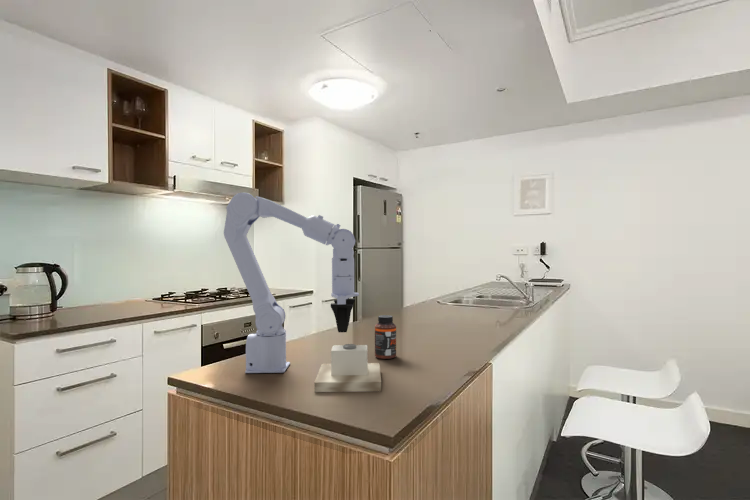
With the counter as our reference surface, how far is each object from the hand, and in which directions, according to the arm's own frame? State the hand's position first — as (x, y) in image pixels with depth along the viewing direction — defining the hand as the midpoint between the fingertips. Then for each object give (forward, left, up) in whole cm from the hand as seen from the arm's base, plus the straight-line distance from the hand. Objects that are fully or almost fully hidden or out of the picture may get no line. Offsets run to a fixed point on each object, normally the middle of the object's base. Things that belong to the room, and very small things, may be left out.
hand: (343, 329), depth 105 cm
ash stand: (+2, -12, -9) cm, 15 cm away
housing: (+2, -12, -7) cm, 14 cm away
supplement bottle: (+11, +8, -10) cm, 17 cm away
